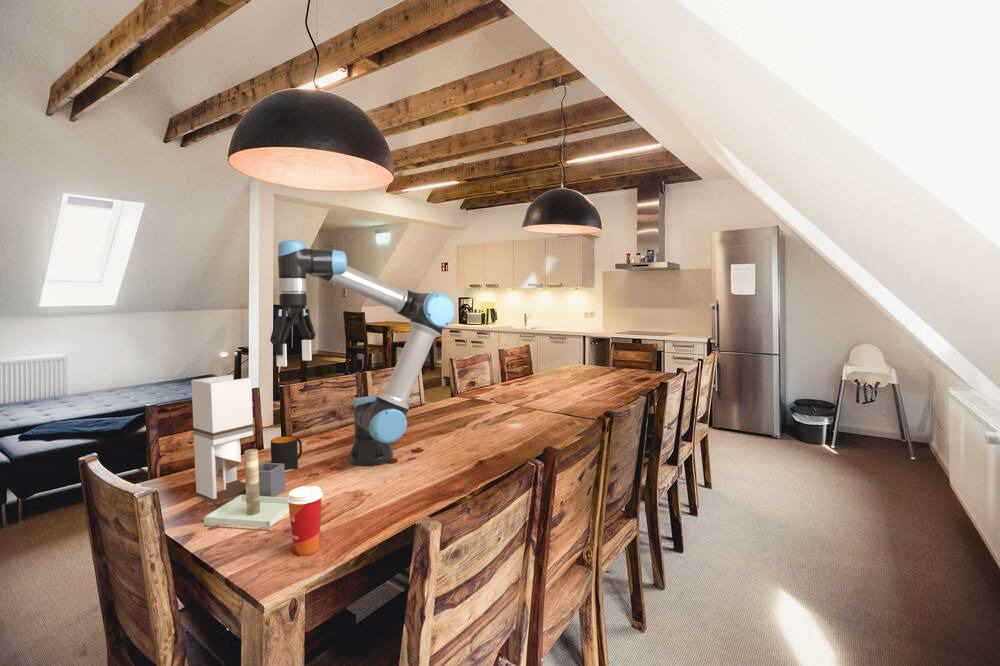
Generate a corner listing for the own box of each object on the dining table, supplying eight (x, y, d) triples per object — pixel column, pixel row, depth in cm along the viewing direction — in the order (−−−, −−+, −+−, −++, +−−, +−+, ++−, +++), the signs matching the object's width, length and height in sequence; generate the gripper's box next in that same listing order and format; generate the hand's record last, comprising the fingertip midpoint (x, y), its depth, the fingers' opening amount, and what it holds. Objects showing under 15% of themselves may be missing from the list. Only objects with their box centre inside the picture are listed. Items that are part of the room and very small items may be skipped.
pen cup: (285, 493, 142) (284, 463, 142) (271, 502, 136) (270, 472, 135) (264, 491, 143) (263, 462, 143) (249, 501, 137) (248, 470, 136)
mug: (311, 463, 168) (310, 434, 168) (284, 474, 157) (283, 444, 156) (292, 460, 171) (292, 432, 171) (265, 471, 160) (264, 441, 159)
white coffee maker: (216, 507, 133) (210, 383, 130) (196, 498, 138) (191, 380, 136) (255, 493, 142) (251, 377, 140) (235, 485, 148) (231, 374, 145)
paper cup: (295, 542, 114) (293, 485, 113) (328, 540, 114) (326, 484, 113) (283, 559, 106) (281, 499, 105) (318, 558, 107) (316, 497, 106)
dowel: (262, 510, 128) (260, 449, 127) (255, 516, 125) (252, 453, 124) (251, 510, 129) (249, 448, 127) (244, 515, 126) (241, 452, 124)
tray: (299, 507, 133) (299, 498, 133) (269, 531, 119) (268, 521, 119) (240, 503, 135) (240, 494, 135) (203, 526, 121) (203, 517, 121)
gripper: (303, 293, 155) (305, 357, 157) (254, 292, 131) (257, 368, 132) (325, 293, 154) (326, 358, 156) (280, 292, 130) (282, 369, 131)
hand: (295, 363), depth 144 cm, fingers open, 13 cm apart
